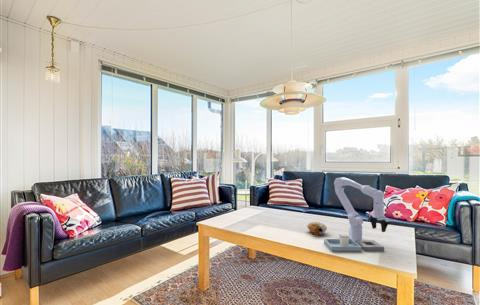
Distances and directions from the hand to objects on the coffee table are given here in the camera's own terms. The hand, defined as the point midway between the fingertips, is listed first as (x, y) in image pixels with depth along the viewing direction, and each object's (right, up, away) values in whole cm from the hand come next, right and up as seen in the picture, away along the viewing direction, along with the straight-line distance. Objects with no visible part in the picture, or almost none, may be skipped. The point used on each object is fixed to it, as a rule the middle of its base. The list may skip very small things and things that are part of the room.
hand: (378, 230), depth 156 cm
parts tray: (-26, -9, -5) cm, 28 cm away
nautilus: (-34, -10, +23) cm, 42 cm away
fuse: (-25, -9, -5) cm, 27 cm away
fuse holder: (-9, -9, -5) cm, 14 cm away
